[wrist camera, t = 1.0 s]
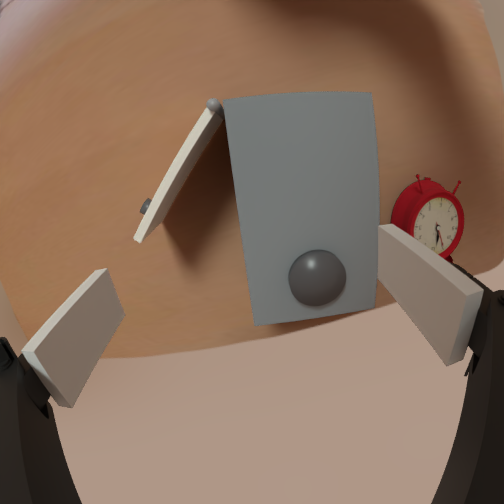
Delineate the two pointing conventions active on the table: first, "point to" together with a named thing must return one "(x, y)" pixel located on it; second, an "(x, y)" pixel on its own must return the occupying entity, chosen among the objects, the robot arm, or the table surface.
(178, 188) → the door
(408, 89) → the table surface
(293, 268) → the case
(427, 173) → the table surface
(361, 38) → the table surface
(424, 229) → the alarm clock
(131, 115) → the table surface
